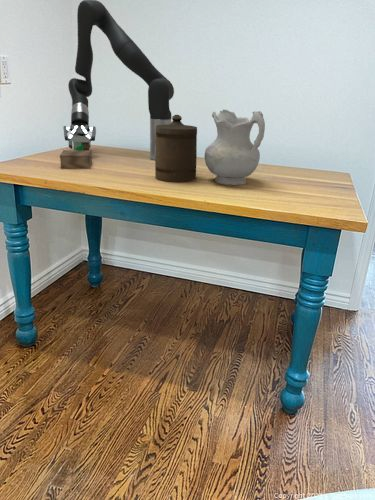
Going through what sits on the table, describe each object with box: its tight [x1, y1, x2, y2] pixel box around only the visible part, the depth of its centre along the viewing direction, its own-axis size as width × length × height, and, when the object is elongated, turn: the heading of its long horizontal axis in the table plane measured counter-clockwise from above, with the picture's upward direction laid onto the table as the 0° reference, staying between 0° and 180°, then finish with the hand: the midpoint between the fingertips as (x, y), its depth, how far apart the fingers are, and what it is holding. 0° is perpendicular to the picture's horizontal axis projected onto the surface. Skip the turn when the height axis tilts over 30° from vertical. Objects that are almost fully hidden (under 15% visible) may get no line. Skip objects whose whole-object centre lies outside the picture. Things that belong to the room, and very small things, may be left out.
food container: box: [71, 134, 90, 150], centre depth 177 cm, size 12×6×10 cm, turn 25°
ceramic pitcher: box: [204, 109, 266, 186], centre depth 144 cm, size 22×20×25 cm
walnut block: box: [59, 149, 93, 170], centre depth 165 cm, size 11×12×5 cm
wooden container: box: [154, 114, 198, 183], centre depth 148 cm, size 15×15×22 cm
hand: (79, 147), depth 178 cm, fingers closed on food container, 6 cm apart
